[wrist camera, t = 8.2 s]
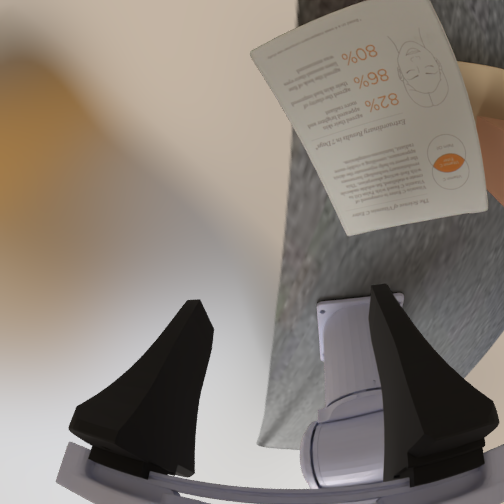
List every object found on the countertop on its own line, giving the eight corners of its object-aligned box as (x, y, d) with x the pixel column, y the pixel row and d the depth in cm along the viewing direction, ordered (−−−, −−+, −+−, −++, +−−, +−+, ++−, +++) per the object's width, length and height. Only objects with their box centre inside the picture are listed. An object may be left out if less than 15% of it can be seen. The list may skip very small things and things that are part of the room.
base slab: (511, 159, 15) (525, 170, 13) (440, 159, 17) (453, 170, 15) (514, 71, 11) (530, 76, 9) (437, 58, 12) (452, 60, 11)
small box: (280, 40, 14) (354, 185, 19) (243, 52, 10) (344, 240, 15) (407, -5, 9) (466, 161, 14) (425, -16, 6) (490, 214, 11)
